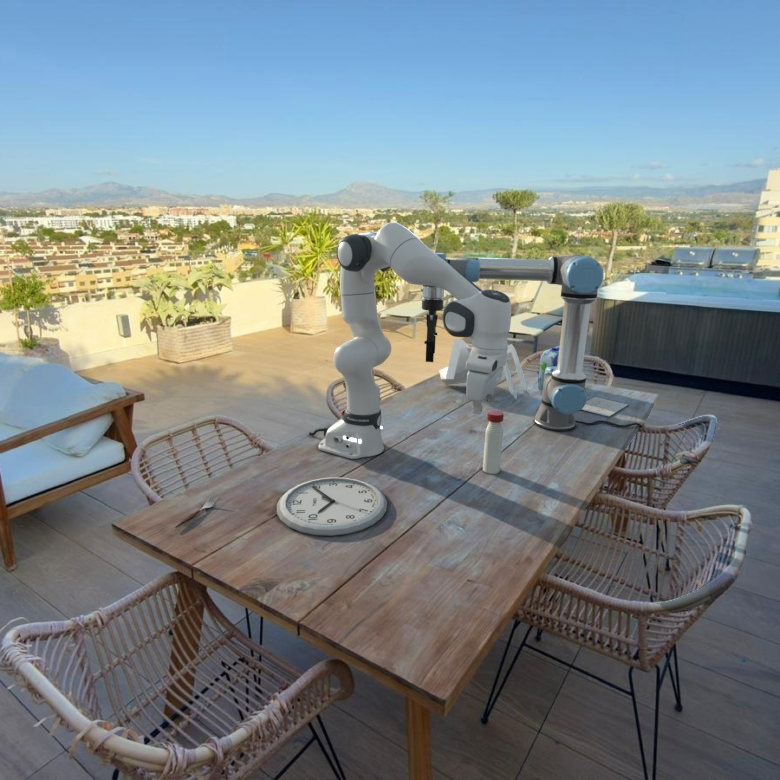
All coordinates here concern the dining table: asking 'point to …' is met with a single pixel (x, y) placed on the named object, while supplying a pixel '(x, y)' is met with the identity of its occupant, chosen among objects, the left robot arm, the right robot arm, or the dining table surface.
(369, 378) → the left robot arm
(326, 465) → the dining table surface
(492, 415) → the cap
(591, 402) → the invitation card
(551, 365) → the lunch box
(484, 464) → the bottle
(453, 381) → the white plastic object
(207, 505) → the fork
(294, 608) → the dining table surface
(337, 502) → the wall clock
